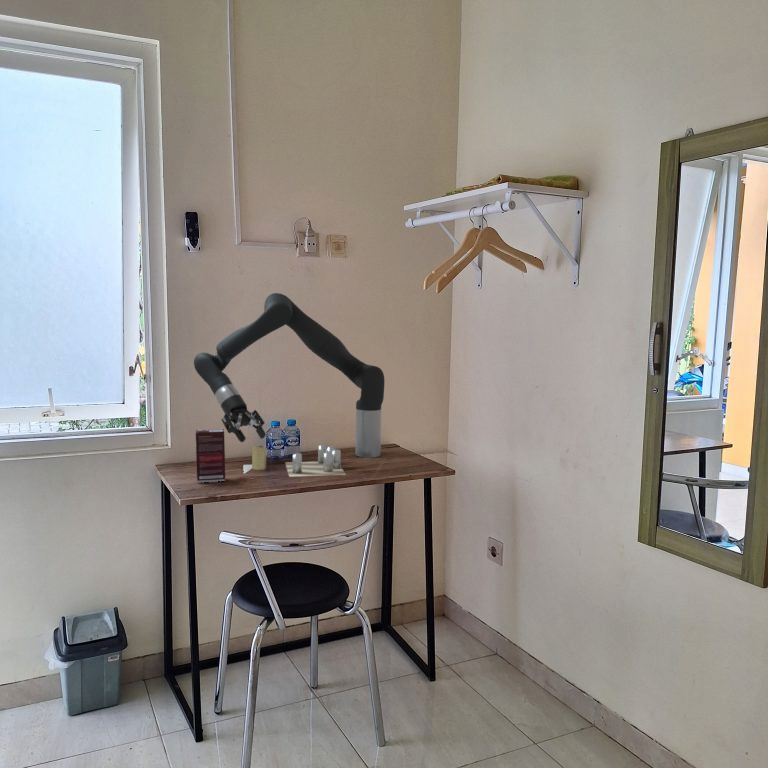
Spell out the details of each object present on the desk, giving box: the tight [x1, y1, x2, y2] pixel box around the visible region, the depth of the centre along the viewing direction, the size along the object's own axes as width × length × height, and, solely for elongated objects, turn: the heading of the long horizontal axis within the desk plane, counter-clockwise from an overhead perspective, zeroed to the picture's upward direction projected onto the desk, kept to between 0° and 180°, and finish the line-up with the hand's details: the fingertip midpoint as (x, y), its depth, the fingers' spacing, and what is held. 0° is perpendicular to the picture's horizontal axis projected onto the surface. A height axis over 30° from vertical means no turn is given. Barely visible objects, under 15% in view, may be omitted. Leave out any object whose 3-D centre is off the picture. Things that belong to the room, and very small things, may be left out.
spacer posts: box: [292, 443, 342, 474], centre depth 231 cm, size 16×16×6 cm
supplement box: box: [195, 428, 226, 484], centre depth 215 cm, size 9×5×16 cm, turn 105°
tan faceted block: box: [251, 444, 267, 471], centre depth 228 cm, size 5×4×8 cm
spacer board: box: [284, 461, 347, 478], centre depth 230 cm, size 20×18×1 cm
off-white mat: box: [242, 464, 253, 475], centre depth 229 cm, size 18×10×1 cm, turn 12°
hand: (253, 438), depth 229 cm, fingers open, 8 cm apart
